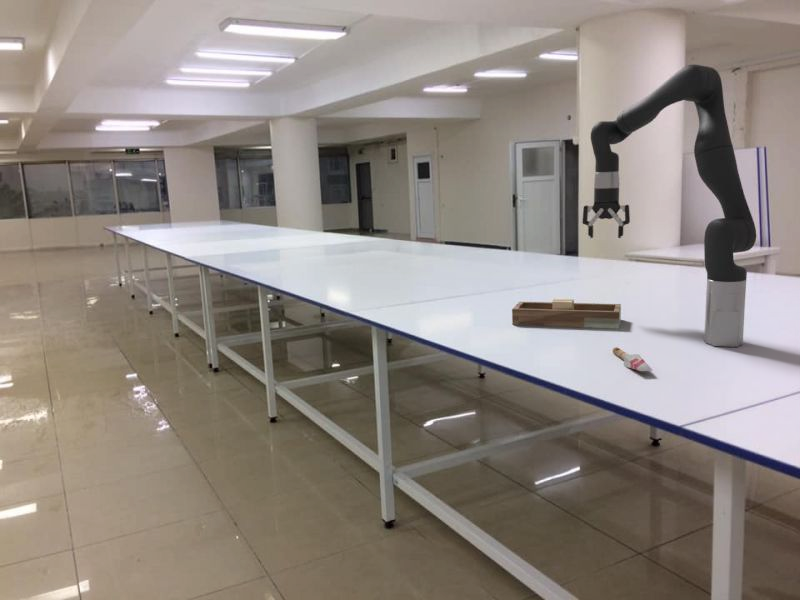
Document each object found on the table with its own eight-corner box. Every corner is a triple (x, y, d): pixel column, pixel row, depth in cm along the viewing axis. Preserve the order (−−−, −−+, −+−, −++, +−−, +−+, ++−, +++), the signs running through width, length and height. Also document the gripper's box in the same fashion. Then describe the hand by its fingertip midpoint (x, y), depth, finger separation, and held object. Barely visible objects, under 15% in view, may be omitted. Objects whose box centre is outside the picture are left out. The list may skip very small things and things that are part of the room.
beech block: (571, 314, 197) (572, 302, 196) (552, 314, 199) (552, 301, 198) (573, 311, 201) (573, 299, 200) (554, 310, 203) (554, 298, 203)
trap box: (618, 328, 189) (619, 312, 188) (512, 324, 201) (512, 309, 200) (620, 319, 200) (620, 304, 199) (519, 316, 212) (519, 301, 211)
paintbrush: (638, 365, 144) (608, 345, 164) (638, 376, 145) (608, 356, 165) (655, 364, 144) (623, 344, 164) (655, 375, 145) (623, 355, 165)
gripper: (581, 187, 199) (581, 239, 202) (629, 186, 193) (628, 239, 197) (584, 186, 206) (584, 236, 209) (631, 185, 200) (629, 236, 203)
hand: (605, 237), depth 203 cm, fingers open, 8 cm apart
